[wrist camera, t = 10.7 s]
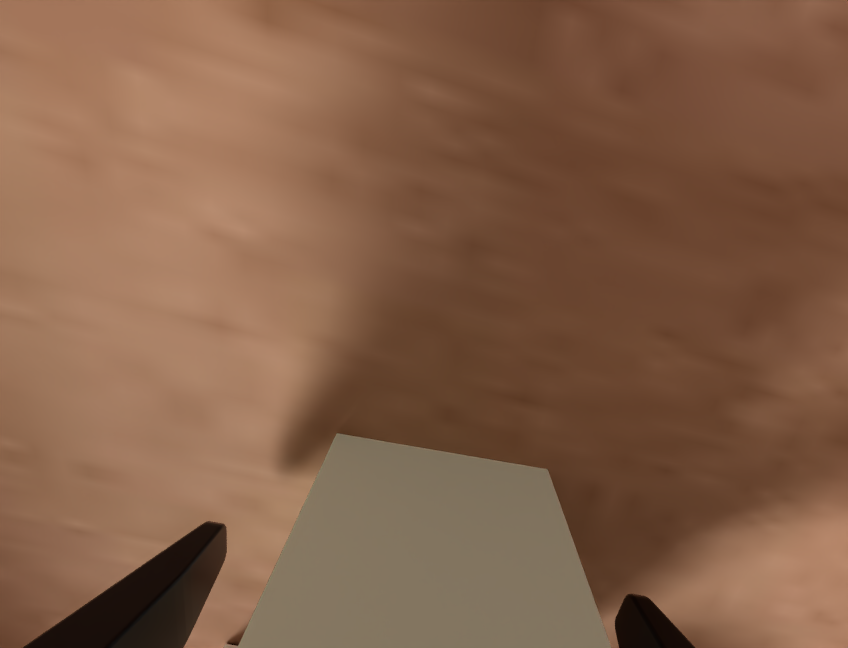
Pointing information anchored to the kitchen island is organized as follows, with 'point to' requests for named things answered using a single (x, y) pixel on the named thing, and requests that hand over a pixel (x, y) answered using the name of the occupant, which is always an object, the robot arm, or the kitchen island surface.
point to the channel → (229, 646)
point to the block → (426, 558)
